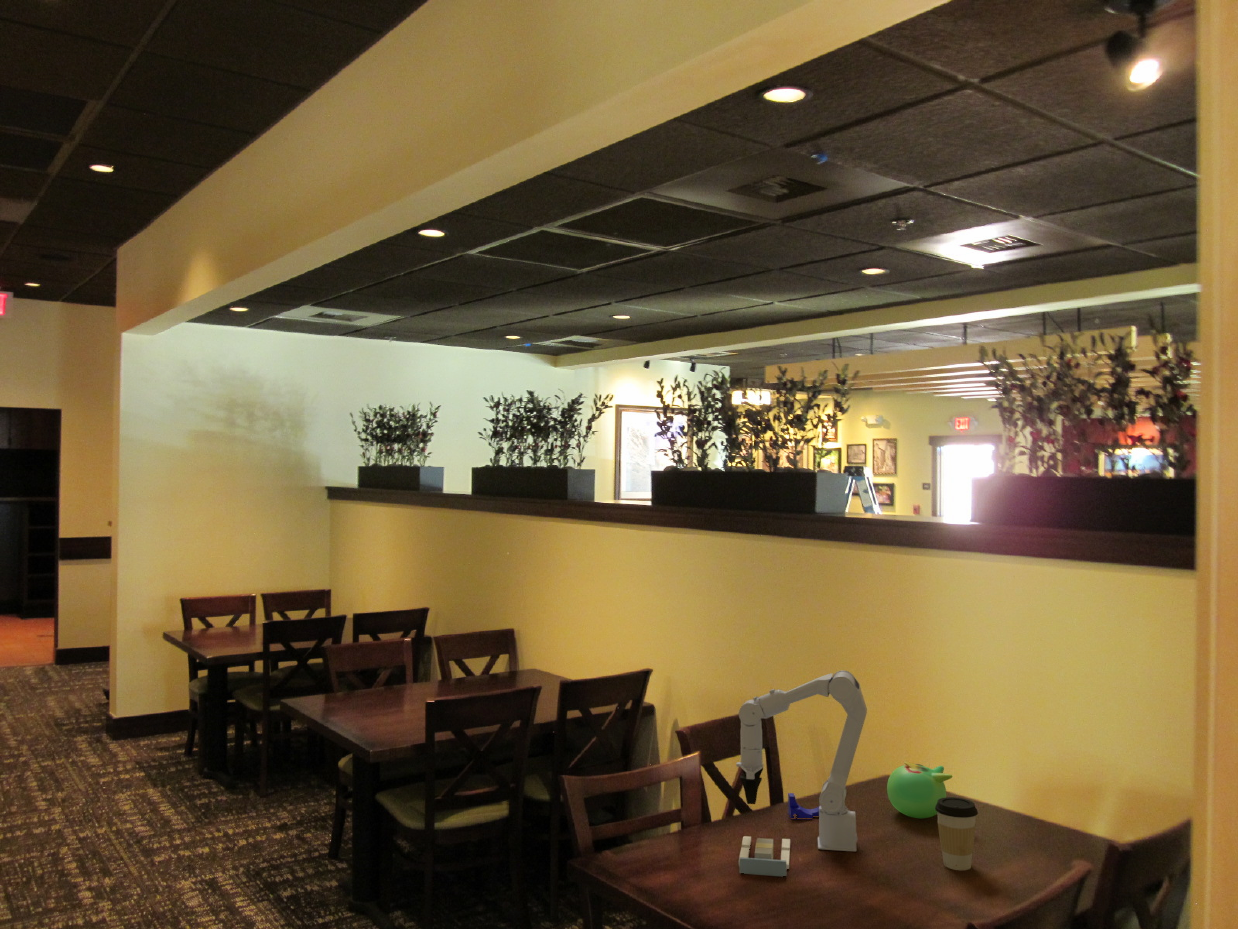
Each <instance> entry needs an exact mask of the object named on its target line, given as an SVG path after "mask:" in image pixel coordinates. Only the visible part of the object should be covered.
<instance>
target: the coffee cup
mask: <svg viewBox="0 0 1238 929" xmlns="http://www.w3.org/2000/svg"><path fill="white" fill-rule="evenodd" d="M935 810H936V811H937V814H936V815H937V827H938V828H937V830H938V834H939V842H940V849H941V852H942V860H943V865H944V867H946V868H947V869H951V870H954V871H967V870H970V869H971V867H972V860H973V859H972V858H973V854H974V847H975V846H974V844H975V836H976V834H975V833H976V820H977V819H976V818H977V817H976V816H977V815H978V814H979V812H978V808H977V807H976V805H975V803H974V801H971V800H969V799H967V798H961V797H955V796H951V797H950V796H946V797H945V798H941V799H939V800H938V802H937V804H936V806H935Z"/></svg>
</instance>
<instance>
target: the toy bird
mask: <svg viewBox="0 0 1238 929" xmlns="http://www.w3.org/2000/svg"><path fill="white" fill-rule="evenodd" d="M903 763H904V764H903V765H900V766H899V767H896V768H895V769H894V770H893V771H892V772H891V774H890V775H889V777H888V780H887V786H886V792H887V797H888V800H889V802H890V804H891V805H892V806H893V807H894V809H896V810H897V811H898V812H900V813H901V814H903V815H904V816H906V817H910V818H914V819H928V818H932V817H934V816H936V815H937V811H936V810H935V806H936V804H937V802H938V800H939V799H941V798H945V797H947V789H946V785H945V782H946V781H948V780H950V779H952V778H953V774H950V773H944V771H945V767H944V765H938V766H936V767H934V768H930V767H927V766H925V765H923V764H920V763H912V762H909V761H906V760H904V761H903Z"/></svg>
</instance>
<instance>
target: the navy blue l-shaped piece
mask: <svg viewBox="0 0 1238 929" xmlns="http://www.w3.org/2000/svg"><path fill="white" fill-rule="evenodd" d="M787 795H788V797H787V799H788V803H787V806H788V816H789V815H790V816H789V818H790V819H791V818H794V816H793V815H794V814H796V815H797V816H796V817H797V818H813V816H819V806H817V807H815V808H811V809H810V808H804V807H803V806H801V805H800V804H798V802H797V800H796V795H795V793H794V792H788V794H787ZM813 819H814V818H813Z"/></svg>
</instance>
